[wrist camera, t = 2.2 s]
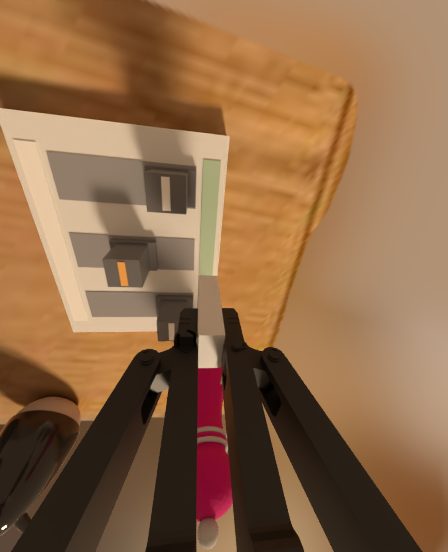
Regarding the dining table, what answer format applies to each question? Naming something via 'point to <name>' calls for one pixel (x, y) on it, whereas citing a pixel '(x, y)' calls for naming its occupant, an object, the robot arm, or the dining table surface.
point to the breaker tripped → (130, 262)
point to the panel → (116, 210)
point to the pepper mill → (211, 457)
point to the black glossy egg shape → (33, 455)
